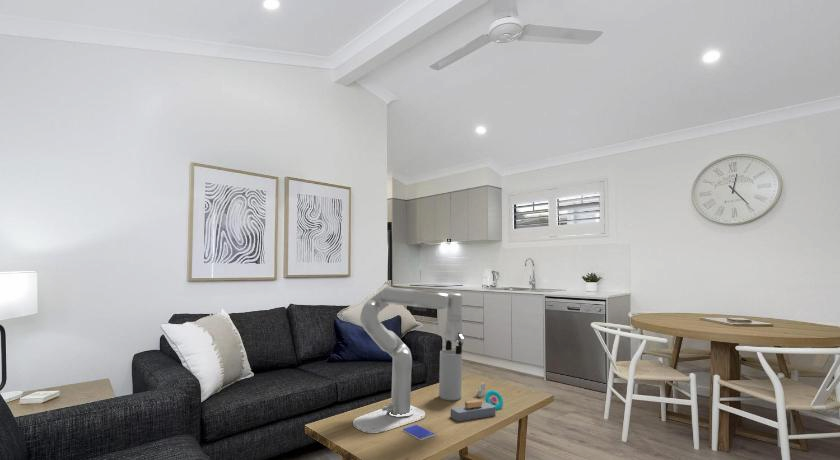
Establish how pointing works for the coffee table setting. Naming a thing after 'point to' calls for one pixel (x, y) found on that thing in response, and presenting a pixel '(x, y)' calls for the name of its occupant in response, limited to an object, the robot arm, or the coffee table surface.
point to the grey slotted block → (473, 412)
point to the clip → (473, 404)
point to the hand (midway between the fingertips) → (453, 352)
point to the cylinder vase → (450, 375)
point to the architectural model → (481, 390)
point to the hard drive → (419, 432)
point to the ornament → (494, 399)
